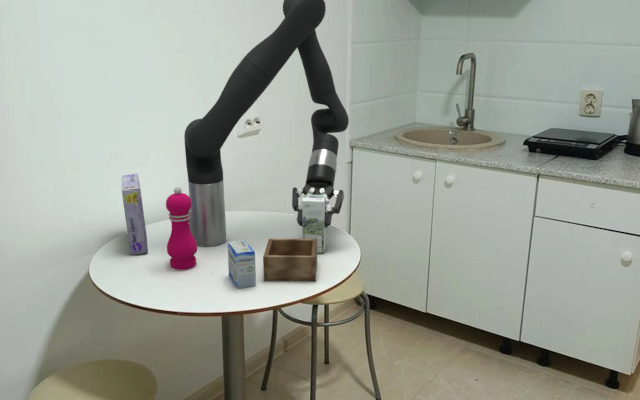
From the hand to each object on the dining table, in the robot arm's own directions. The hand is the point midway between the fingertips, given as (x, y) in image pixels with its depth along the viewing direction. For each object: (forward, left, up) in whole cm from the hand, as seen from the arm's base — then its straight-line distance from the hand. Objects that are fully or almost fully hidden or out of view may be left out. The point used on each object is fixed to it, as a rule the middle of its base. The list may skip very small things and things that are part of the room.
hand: (313, 225), depth 151 cm
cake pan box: (-48, +6, -8) cm, 49 cm away
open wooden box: (-5, -12, -7) cm, 15 cm away
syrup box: (0, +2, -7) cm, 8 cm away
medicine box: (-16, -18, -8) cm, 25 cm away
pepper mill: (-32, -9, -7) cm, 34 cm away
